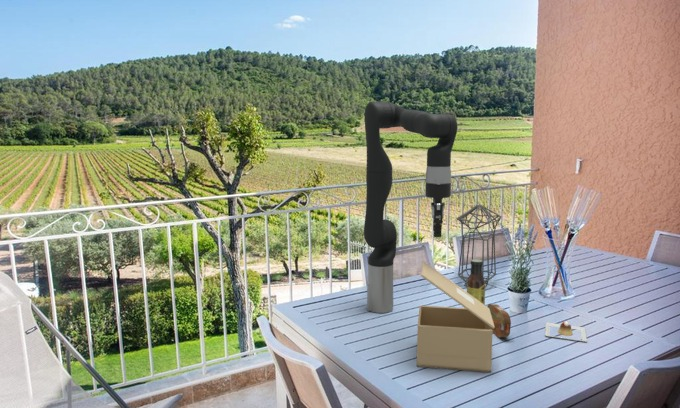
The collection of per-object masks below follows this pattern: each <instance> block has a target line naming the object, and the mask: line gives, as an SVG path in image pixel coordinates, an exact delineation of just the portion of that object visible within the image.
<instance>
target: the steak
mask: <svg viewBox="0 0 680 408" xmlns="http://www.w3.org/2000/svg"><path fill="white" fill-rule="evenodd" d="M486 306H487V307H488V308H489V309H490V313H491V316H492V320H493V323H494V326H495V328H494V329H493V328H492V330H493V333H492V334H494V335H495V336H496V337H497V338H508V337H509V336H510V334H511V325H512V321H511V316H510V315H509V313H508V312H507V311H506V310H505V309H504V308H503V307H501V306H500V305H499V304H496V303H495V304H494V303H488V305H486Z"/></svg>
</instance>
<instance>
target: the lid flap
mask: <svg viewBox="0 0 680 408" xmlns="http://www.w3.org/2000/svg"><path fill="white" fill-rule="evenodd" d="M421 264H422V265H421V273H420V277H422V278H423V279H424V280H425V281H427V282H429V283H430V284H431V285H433V287H436V289H438V290H439V291H441V292H442V293H444V294H445V295H447V296H448V297H449V298H451V299H452V300H453V301H455V302H456V303H458V304H459V305H461V306H462V308H466V309H467V310H468V311H470V312H471V313H473V314H474V315H475V316H477V317H478V318H479V319H481V320H482V321H484V322H485V323H486V324H488V325H489V326H490V327H492V328H493V329H494V328H495V326H494V323H493V320H492V316H491V313H490V309H489V308H488V307H487V306H488V305H486V304H485V305H484V304H483V303H481V302H480V301H478V300H477V299H476V298H474V297H473V296H471V295H470V294H469V293H467V290H465V289H463V288H462V287H460V286H459V285H458V284H457V283H455V282H453V281H452V280H451V279H450V278H448V277H446V276H445V275H444V274H442V272H440V271H438V270H437V269H435V268H434V267H433V266H431V265H430V264H429V263H427V262H426V261H424V260H423V261H422V262H421Z"/></svg>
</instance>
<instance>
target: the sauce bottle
mask: <svg viewBox="0 0 680 408" xmlns="http://www.w3.org/2000/svg"><path fill="white" fill-rule="evenodd" d="M482 265H483V261H482V259H476V258H475V259H474V258H473V260H472V259H471V260H470V269H471V270H470V274H469V276H467V277H468V279H467V282H468V283H467V286H466V292H467V293H469V294H470V295H471V296H473V297H474V298H476V299H477V300H478V301H480V302H481V303H483V304H484V305H485V306H486V287H485V286H486V283H485V280H486V279H484V278H485V276H484V274H482Z"/></svg>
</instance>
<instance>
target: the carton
mask: <svg viewBox="0 0 680 408" xmlns="http://www.w3.org/2000/svg"><path fill="white" fill-rule="evenodd" d="M416 331H417V335H416V336H417V341H416V342H417V343H416V344H417V345H416V347H417V348H416V367H418V368H419V367H420V368H429V369H430V368H431V369H444V370H456V371H470V372H480V371H482V373H491V372H492V354H493V352H492V350H493V334H494V333H493V330H492V327H490V326H489V325H488V324H486V323H485V322H484V321H482V320H481V319H479V318H478V317H477V316H475V315H474V314H473V313H471V312H470V311H468V310H467V309H466V308H464V307H451V306H434V305H419V308H418V317H417V330H416Z"/></svg>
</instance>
